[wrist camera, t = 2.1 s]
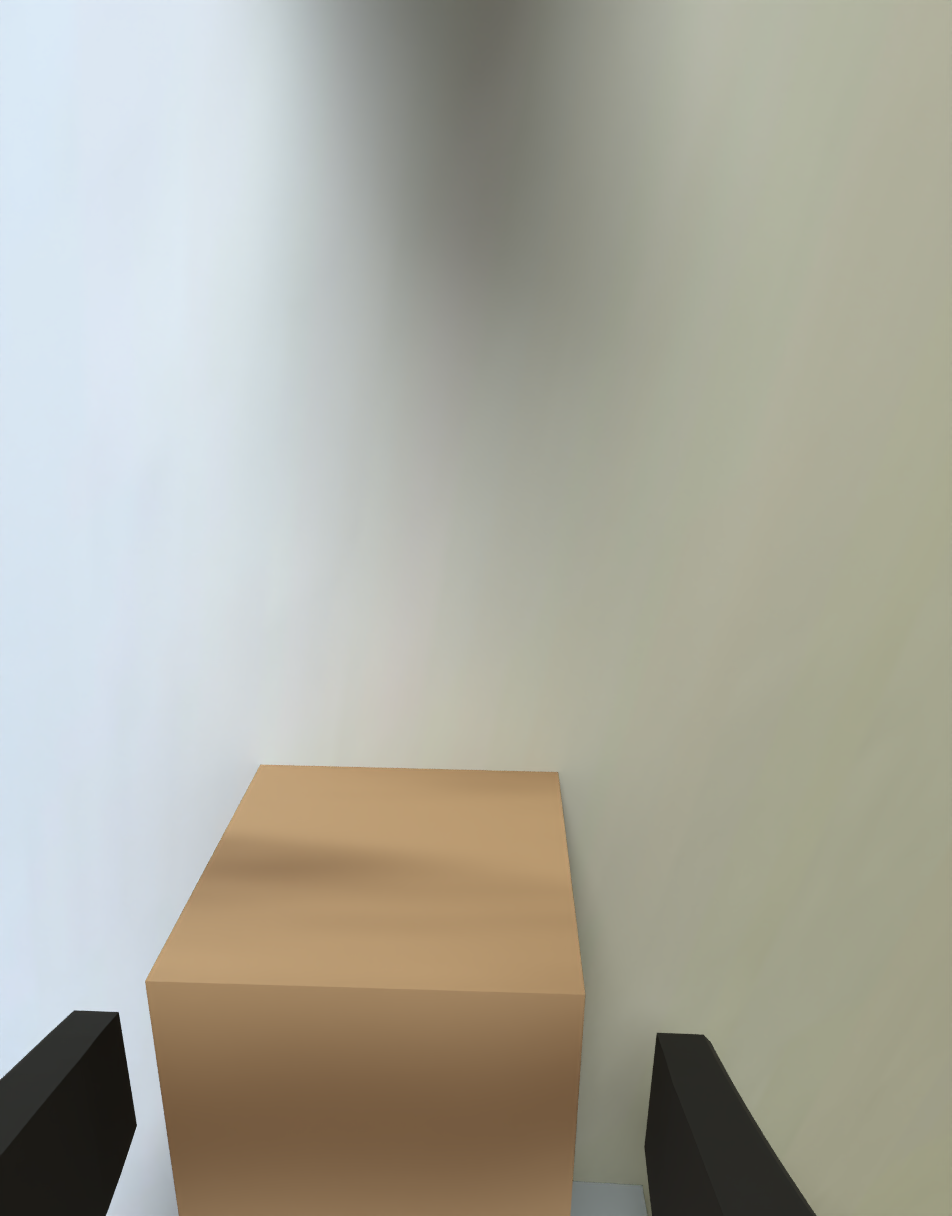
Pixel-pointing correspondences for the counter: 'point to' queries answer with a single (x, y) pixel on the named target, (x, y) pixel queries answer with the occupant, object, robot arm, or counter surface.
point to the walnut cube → (376, 1000)
